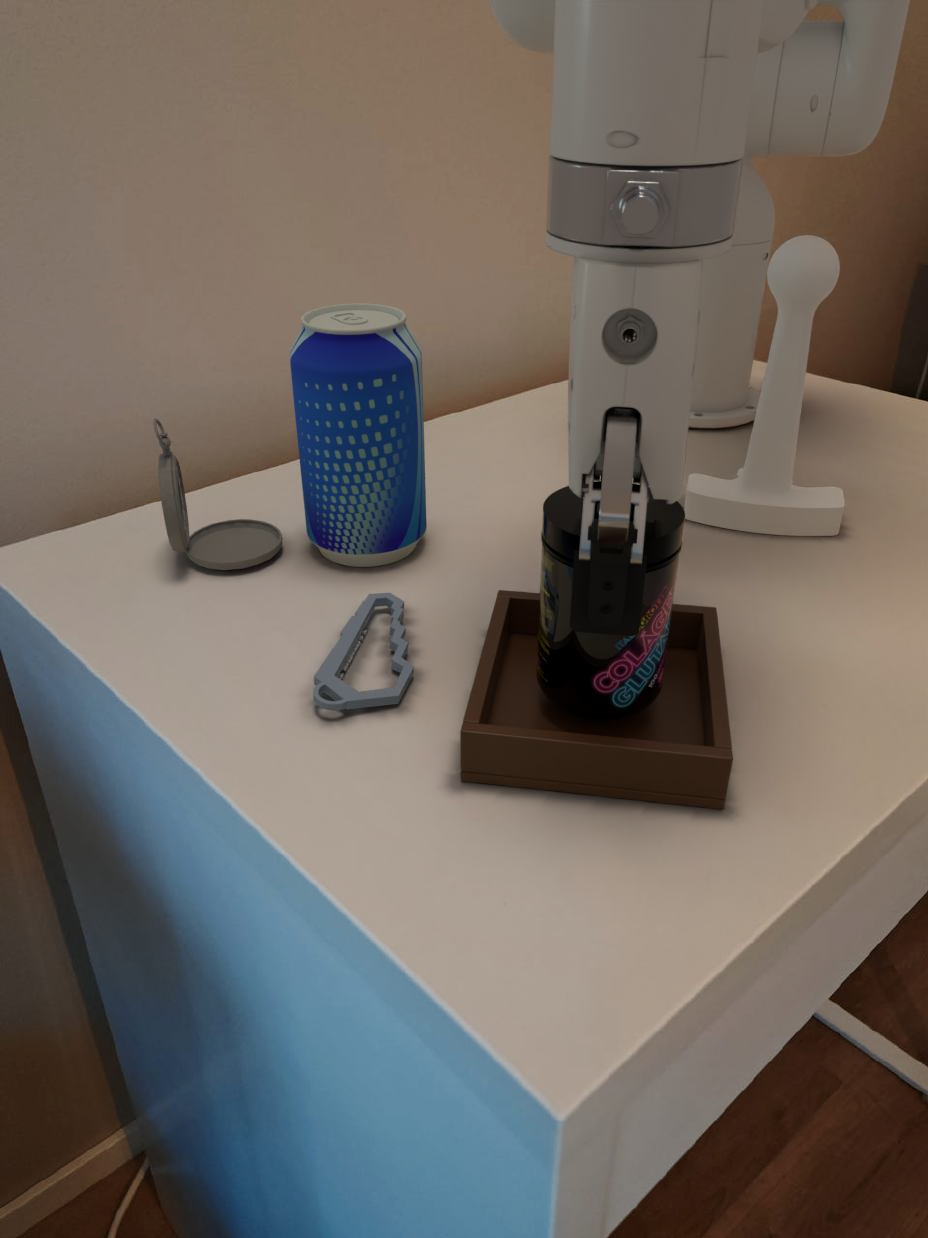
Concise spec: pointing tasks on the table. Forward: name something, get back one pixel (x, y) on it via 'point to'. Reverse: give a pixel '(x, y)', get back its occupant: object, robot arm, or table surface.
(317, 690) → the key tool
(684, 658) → the tray
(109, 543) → the table surface
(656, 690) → the supplement container
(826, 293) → the joystick
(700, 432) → the table surface
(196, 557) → the pocket watch
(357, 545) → the beer can
